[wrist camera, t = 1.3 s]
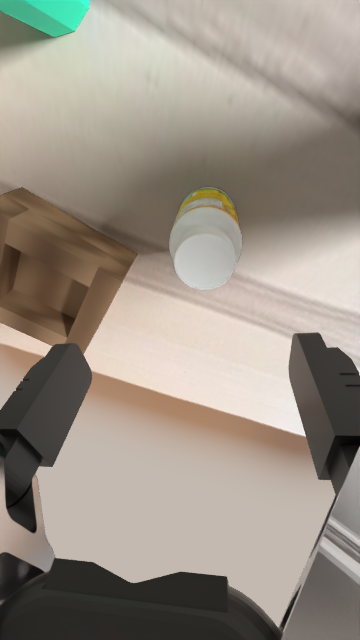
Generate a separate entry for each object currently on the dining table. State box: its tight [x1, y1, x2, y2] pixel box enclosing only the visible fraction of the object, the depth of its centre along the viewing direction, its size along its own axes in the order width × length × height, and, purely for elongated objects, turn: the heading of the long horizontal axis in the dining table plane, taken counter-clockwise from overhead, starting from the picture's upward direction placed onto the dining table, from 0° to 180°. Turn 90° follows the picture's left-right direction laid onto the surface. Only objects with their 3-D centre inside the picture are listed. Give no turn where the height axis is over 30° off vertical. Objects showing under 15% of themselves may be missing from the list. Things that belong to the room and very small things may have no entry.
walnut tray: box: [0, 187, 137, 354], centre depth 27 cm, size 12×12×6 cm
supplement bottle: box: [169, 187, 242, 290], centre depth 21 cm, size 5×5×10 cm
